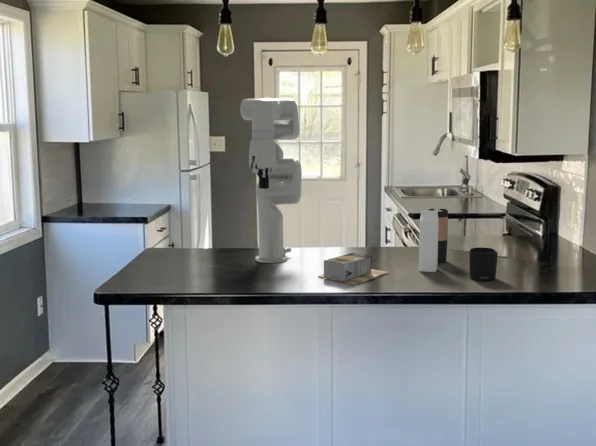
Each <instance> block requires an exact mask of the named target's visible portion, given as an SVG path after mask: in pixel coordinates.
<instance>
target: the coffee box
mask: <svg viewBox="0 0 596 446" xmlns="http://www.w3.org/2000/svg"><path fill="white" fill-rule="evenodd" d="M372 257H373V256H372V255H367V254H362V253H355V252H351V253H347V254H343V255H340V256H335V257H332V258H328V259H324V260H323V274H324V277H325V278H330V279H335V280H340V281H345V280H348V279H352V278H355V277H358V276H362V275H365V274H368V273H371V269H372V267H373V260H372V259H373V258H372Z"/></svg>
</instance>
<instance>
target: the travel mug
mask: <svg viewBox="0 0 596 446" xmlns="http://www.w3.org/2000/svg"><path fill="white" fill-rule="evenodd" d="M428 210H430V211H438V257H437V264H443V263H446V262H447V256H448V231H449V228H448V227H449V225H448V224H449V220H448V218H449V210H448V209H447V208H439V209H435V208H429V209H428Z"/></svg>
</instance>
